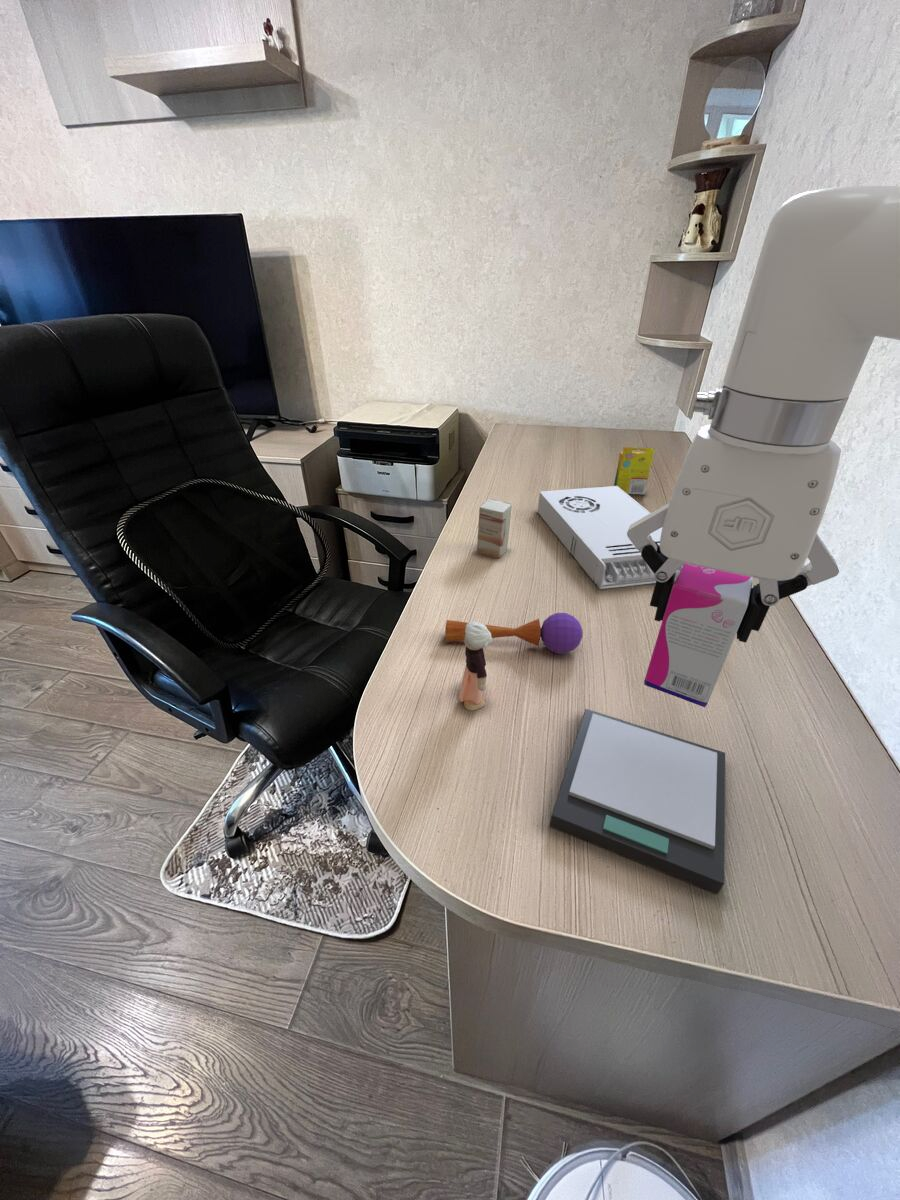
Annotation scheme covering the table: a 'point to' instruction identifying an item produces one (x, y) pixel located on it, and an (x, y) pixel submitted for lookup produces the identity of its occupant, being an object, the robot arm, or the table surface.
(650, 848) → the scale
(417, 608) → the table surface
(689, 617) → the supplement box
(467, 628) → the grandmother figurine
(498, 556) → the medicine carton
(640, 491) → the crayon box
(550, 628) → the kendama
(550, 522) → the power supply unit
